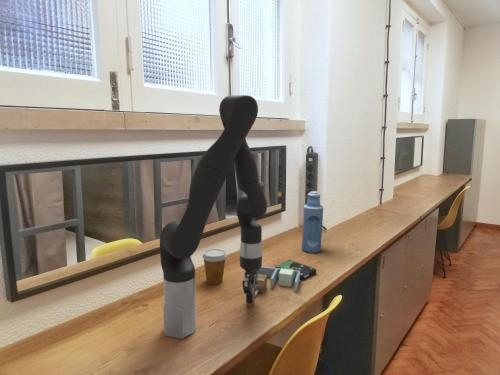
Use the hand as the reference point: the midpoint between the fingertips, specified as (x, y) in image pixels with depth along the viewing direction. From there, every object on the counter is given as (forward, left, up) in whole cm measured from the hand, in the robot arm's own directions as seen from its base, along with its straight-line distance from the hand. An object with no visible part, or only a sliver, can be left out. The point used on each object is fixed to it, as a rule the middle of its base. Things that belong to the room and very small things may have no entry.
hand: (250, 300), depth 124 cm
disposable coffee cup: (+14, +19, -2) cm, 24 cm away
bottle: (+62, -15, -2) cm, 64 cm away
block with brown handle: (+7, 0, -2) cm, 7 cm away
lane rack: (+19, -5, -2) cm, 20 cm away
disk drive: (+33, -11, -2) cm, 35 cm away
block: (+21, -9, -2) cm, 23 cm away
